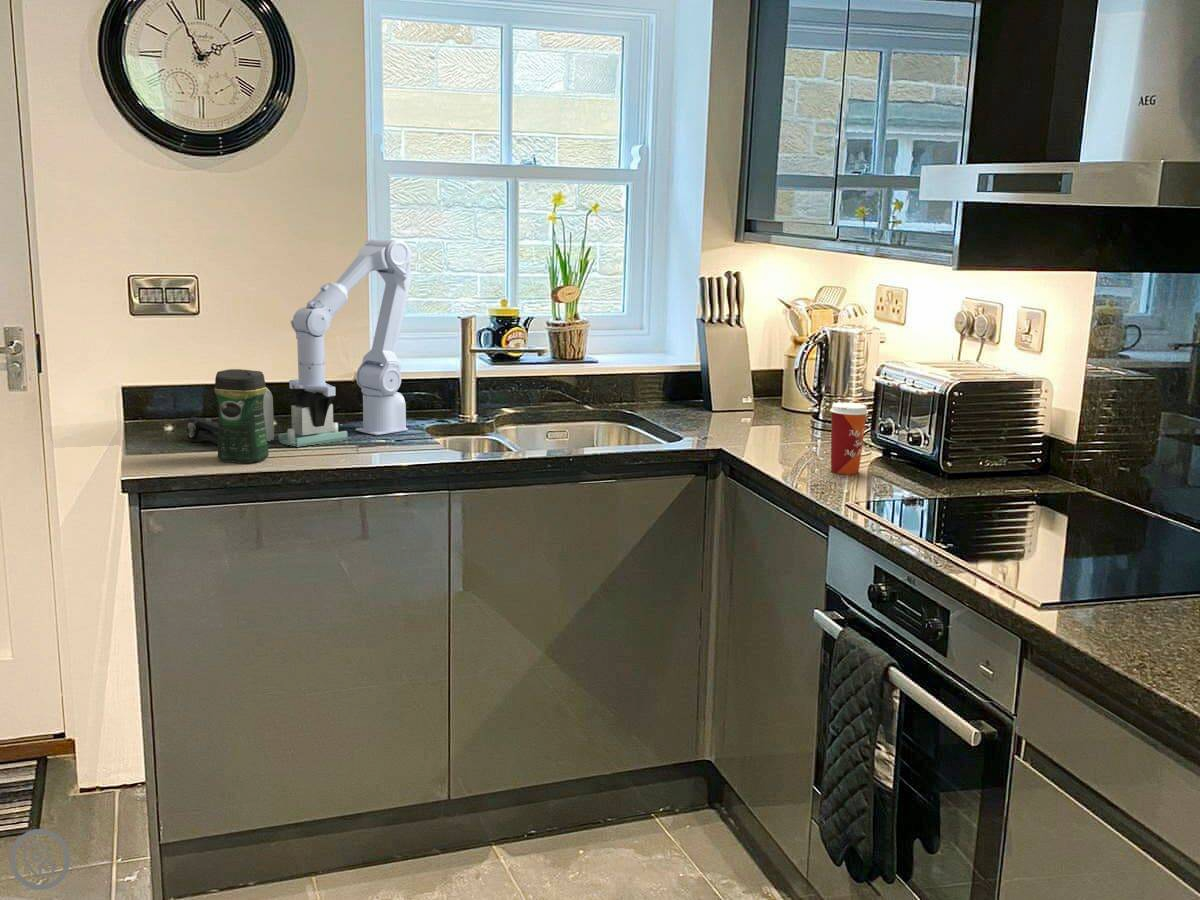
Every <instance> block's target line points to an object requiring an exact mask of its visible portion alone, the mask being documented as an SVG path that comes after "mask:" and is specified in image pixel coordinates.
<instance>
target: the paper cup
mask: <svg viewBox="0 0 1200 900" xmlns="http://www.w3.org/2000/svg"><path fill="white" fill-rule="evenodd" d="M867 408H868V407H867V406H866V405H865V404H863V403H862V404H861V403H855V402H835V403H832V405H831V408H830V409H829V412H830V413H831V415H830V417H831V418H830V419H831V423H830V430H831V431H830V432H831V433H830V435H831V436H830V442H831V443H830V471H831V472H832V473H833V474H837V475H846V476H849V475H857V474H858V473H859V470H860V466H861V465H860V464H861V458H862V457H861V456H862V450H863V443H864V433H865V428H866V420H867V414H869V411H868V409H867Z"/></svg>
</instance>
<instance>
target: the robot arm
mask: <svg viewBox="0 0 1200 900" xmlns="http://www.w3.org/2000/svg"><path fill="white" fill-rule="evenodd" d="M412 258H413V253H412V251H411V250H410V248H409V246H408V245H407V243H406V242H405V241H404V240H402V239H382V238H381V239H380V238H376V237H373V238H370V239H369V240H367V241H366V243H364V245H363V246H361V247H360V248H359V251H358V254H357V256H356V257H355V258H354V259H353V261H352V262H351V264H349V266H348V267H347V268H346V269H345V271H344V272H343V273H342V275H341V276H339V278H338V279H337V280H336V281H335V282H328V283H326V284H323V285H321V287H319V288H320V291H319V292H318V293H317V294H316V295H315V296H314V297H313V298H312V299H311V300H308V302H307V303H306V306H305V307H301V308H299V309H298V310H296V312H295V313H294V315H293V318H292V320H290V325H291V328H292V329H293V331H294V332H295V337H296V339H297V340H296V341H297V342H296V345H297V369H298V371H297V373H298V374H297V375H298V379H297V378H296V379H295V378H294V379H289V382H288V383H289V389H291V390H293V389H294V390H295V391H292V392H291V393H290V395H291V397H292V399H293V400H294V403H295V405H302V404H309V403H310V405H311V409H312V414H313V422H314V426H315V427H320V426H324V423H325V419H326V415H327V411H328V408H329V406H330V404H332V401H333V400H334V399H335V396H336V386H333V385H331V384H329V383H326V358H325V357H326V353H325V351H326V350H325V349H326V347H325V333H327V332H329V330H330V326H331V321H332V320H333V317H335V316H336V314H338V313H339V311H340V310H342V308H343V307H344V306H345V305H346V304H347V303H348V301H349V297H348V294H349V293H350V292H351V291H352V290H353V289H354V288H355V287H356V286H357V285H358V284H359V283H360V282H361V281H362V280H363V279H364V278H366V277H367V276H368V275H369V274H370V273H371V272H373V271H376V272H377V273H378V274H379V275H380V276H381V278H382V279H383V281H384V283H385V287H384V290H383V296H382V298H381V299H382V300H381V305H380V307H379V308H380V309H379V312H378V313H379V314H378V317H377V323H376V328H375V332H374V336H373V341H372V347H371V349H370V350H369V351H368V352H367V353H366V354H364V355H363V357H362V362H361V364H360V365H359V367H357V370H356V374H355V380H356V383H357V385H358V386H359V388H361V393H362V406H363V407H362V415H363V417H362V418H363V419H362V423H363V424H362V425H363V427H356V428H355V431H357V432H361V433H365V434H369V435H373V436H380V435H381V436H382V435H387V434H392V433H393V434H394V433H399V432H400V433H401V432H406V431H408V430H409V428H408V427H407V414H406V413H407V407H406V401H405V397H404V395H403V394H402V393H401V392H398V390H399V388H400V387H401V384H402V375H401V370H402V369H401V368H402V363H401V361H400V360H399V358H398V357H397V355H396V354H397V350H398V349H397V348H398V345H399V340H400V339H399V338H400V334H401V331H402V325H403V321H404V316H405V312H406V306H407V303H408V298H409V297H408V296H409V294H410V288H411V283H412V272H411V262H412Z"/></svg>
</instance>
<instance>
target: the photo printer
mask: <svg viewBox="0 0 1200 900" xmlns="http://www.w3.org/2000/svg"><path fill="white" fill-rule="evenodd" d="M263 410H264V420H265V428H266V435H267V441H268V442H272V441H273V440H274V439H275V426H274V425H275V423H274V397H273V394H272V391H270V389H269V388H268V387H266V392H265V395H264V399H263ZM271 440H272V441H271Z"/></svg>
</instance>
